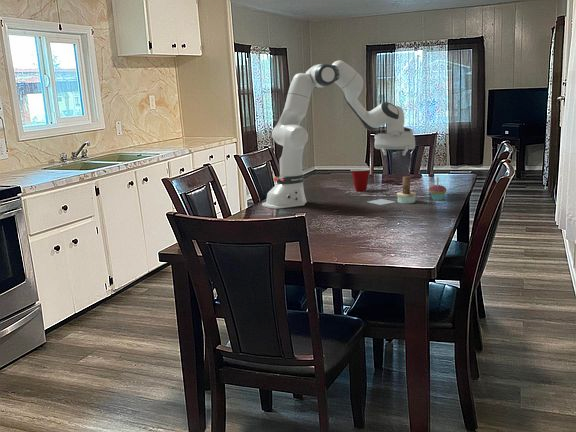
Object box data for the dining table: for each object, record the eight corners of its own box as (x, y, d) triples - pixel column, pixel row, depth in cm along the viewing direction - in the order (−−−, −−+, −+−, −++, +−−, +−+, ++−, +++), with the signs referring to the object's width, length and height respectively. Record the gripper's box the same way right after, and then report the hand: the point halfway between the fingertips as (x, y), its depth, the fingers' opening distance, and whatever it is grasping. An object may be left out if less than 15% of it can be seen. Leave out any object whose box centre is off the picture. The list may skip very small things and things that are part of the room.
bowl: (406, 204, 270) (406, 197, 269) (394, 202, 276) (394, 195, 276) (418, 202, 274) (418, 195, 273) (406, 199, 281) (406, 192, 280)
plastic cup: (370, 188, 314) (370, 166, 312) (371, 192, 304) (371, 169, 301) (350, 188, 315) (350, 167, 313) (350, 192, 305) (350, 170, 302)
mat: (380, 205, 270) (380, 204, 270) (366, 202, 278) (366, 201, 278) (395, 202, 276) (395, 201, 275) (381, 199, 284) (381, 198, 284)
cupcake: (447, 201, 273) (447, 176, 271) (428, 201, 275) (429, 176, 272) (445, 197, 282) (446, 173, 279) (428, 197, 283) (428, 173, 281)
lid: (406, 197, 268) (406, 179, 266) (392, 195, 276) (392, 177, 274) (419, 195, 273) (420, 176, 271) (406, 192, 281) (406, 174, 279)
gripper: (374, 129, 291) (373, 150, 284) (415, 129, 287) (415, 150, 280) (374, 137, 296) (373, 158, 289) (415, 137, 292) (414, 158, 285)
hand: (394, 154), depth 284 cm, fingers open, 8 cm apart
